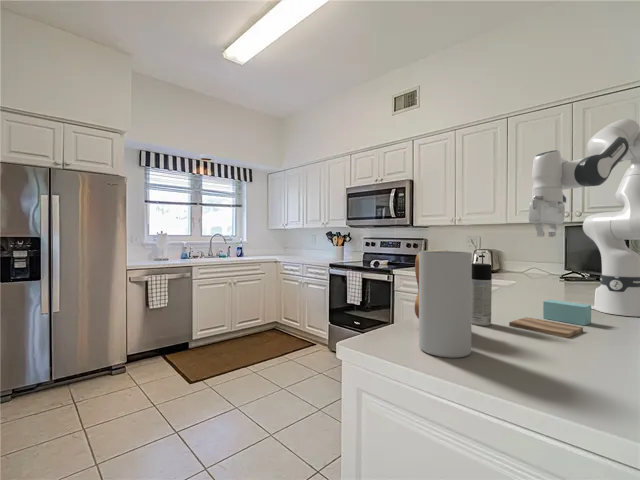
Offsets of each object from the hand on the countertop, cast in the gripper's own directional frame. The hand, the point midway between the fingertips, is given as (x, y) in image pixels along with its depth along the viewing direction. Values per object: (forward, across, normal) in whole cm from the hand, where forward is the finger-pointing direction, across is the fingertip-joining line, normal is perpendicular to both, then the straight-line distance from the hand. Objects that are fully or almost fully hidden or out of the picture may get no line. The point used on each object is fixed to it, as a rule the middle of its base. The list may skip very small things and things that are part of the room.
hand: (546, 236), depth 117 cm
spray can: (+29, -25, +10) cm, 40 cm away
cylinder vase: (+29, -58, +1) cm, 65 cm away
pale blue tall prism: (+29, +3, -5) cm, 30 cm away
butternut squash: (+29, -43, +14) cm, 54 cm away
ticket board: (+29, -14, -5) cm, 33 cm away
